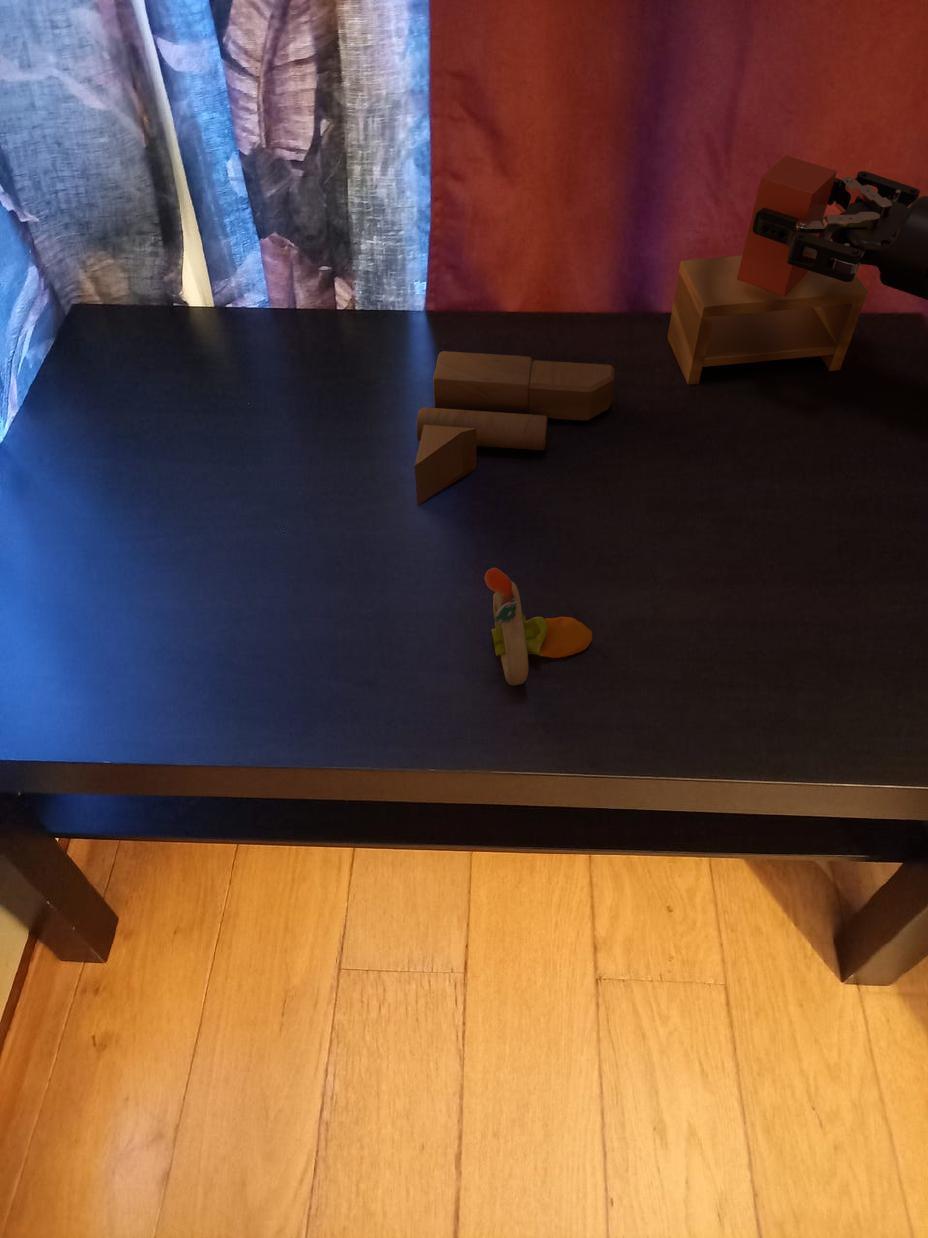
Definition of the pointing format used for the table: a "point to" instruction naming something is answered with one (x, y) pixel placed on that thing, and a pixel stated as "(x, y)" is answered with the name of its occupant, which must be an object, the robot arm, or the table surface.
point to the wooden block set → (499, 409)
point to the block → (793, 194)
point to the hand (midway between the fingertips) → (777, 199)
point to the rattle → (528, 631)
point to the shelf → (758, 318)
